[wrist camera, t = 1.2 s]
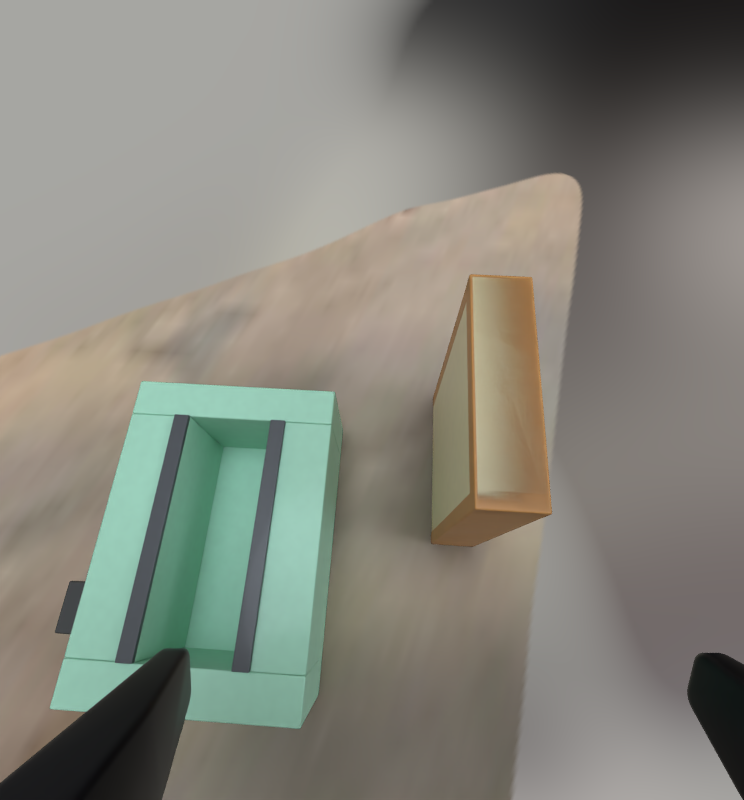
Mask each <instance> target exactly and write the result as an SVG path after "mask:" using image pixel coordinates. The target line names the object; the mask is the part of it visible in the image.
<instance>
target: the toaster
mask: <svg viewBox="0 0 744 800" xmlns="http://www.w3.org/2000/svg"><path fill="white" fill-rule="evenodd" d="M133 413H134V414H132V417H131V421H130V424H129V428H128V431H127V435H126V438H125V442H124V446H123V449H122V453H121V456H120V460H119V463H118V467H117V471H116V474H115V478H114V481H113V485H112V488H111V492H110V496H109V499H108V503H107V506H106V510H105V513H104V517H103V521H102V524H101V528H100V531H99V535H98V538H97V542H96V546H95V549H94V553H93V556H92V560H91V563H90V567H89V571H88V574H87V578H86V581H70V582H69V586H68V589H67V592H66V596H65V599H64V603H63V606H62V609H61V613H60V616H59V620H58V623H57V627H56V630H55V633H61V634H71V635H70V638H69V642H68V645H67V649H66V653H65V657H66V658H64V659H63V663H62V666H61V670H60V673H59V677H58V680H57V684H56V687H55V691H54V695H53V698H52V702H51V705H50V709H55V710H67V711H80V712H87V711H88V710H89V709H90V708H91V707H93V706H94V705H95V704H96V703H98V702H99V701H100V700H101V699H102V698H104V697H105V696H106V695H107V694H108V693H110V692H111V691H112V690H113V689H114V688H116V687H117V686H118V685H119V684H120V683H122V682H123V681H124V680H125V679H127V678H128V677H129V676H130V675H131V674H133V673H134V672H135V671H136V670H137V669H139V668H140V667H141V666H142V665H143V664H145V663H146V662H147V661H148V660H149V659H151V658H152V657H153V656H154V655H156V654H157V653H158V652H159V651H161V650H162V649H165V648H185V649H187V650H188V651H189V654H190V671H191V697H190V702H189V706H188V710H187V713H186V717H185V720H193V721H206V722H219V723H231V724H244V725H257V726H269V727H282V728H294V729H300V728H301V726H302V724H303V722H304V721H305V719H306V717H307V715H308V713H309V711H310V709H311V708H312V706H313V704H314V702H315V700H316V698H317V696H318V694H319V684H320V673H321V662H322V652H323V641H324V630H325V619H326V608H327V597H328V586H329V576H330V565H331V554H332V543H333V532H334V521H335V511H336V500H337V489H338V478H339V467H340V456H341V446H342V435H343V428H342V423H341V419H340V414H339V409H338V405H337V400H336V395H335V392H329V391H311V390H292V389H274V388H256V387H238V386H219V385H201V384H183V383H164V382H146V381H142V382H141V385H140V389H139V392H138V396H137V399H136V403H135V406H134V410H133Z"/></svg>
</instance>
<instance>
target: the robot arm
mask: <svg viewBox="0 0 744 800" xmlns="http://www.w3.org/2000/svg"><path fill="white" fill-rule="evenodd" d="M687 692H688V693H687V694H688V700H689V703H690V705H691V707H692V709H693V711H694V713H695V715H696V716H697V718H698V720H699V722H700V724H701V725H702V727H703V729H704V731H705V732H706V734H707V736H708V738H709V740H710V742H711V744H712V745H713V747H714V749H715V751H716V753H717V754H718V756H719V758H720V760H721V762H722V763H723V765H724V767H725V769H726V771H727V772H728V774H729V776H730V778H731V779H732V781H733V783H734V785H735V787H736V789H737V790H738V792H739V794H740V796H741V797H742V799H743V800H744V664H742V663H740V662H738V661H736V660H734V659H733V658H731V657H729V656H727V655H725V654H721V653H700V654H698V655H697V656H696V657H695V660H694V664H693V668H692V672H691V676H690V680H689V685H688V689H687ZM190 697H191V671H190V654H189V651H188V650H187V649H185V648H165V649H162V650H161V651H159V652H158V653H157V654H156V655H154V656H153V657H152V658H151V659H149V660H148V661H147V662H146V663H145V664H143V665H142V666H141V667H140V668H139V669H137V670H136V671H135V672H134V673H133V674H131V675H130V676H129V677H128V678H127V679H125V680H124V681H123V682H122V683H120V684H119V685H118V686H117V687H116V688H114V689H113V690H112V691H111V692H110V693H108V694H107V695H106V696H105V697H104V698H102V699H101V700H100V701H99V702H98V703H96V704H95V705H94V706H93V707H91V708H90V709H89V710H88V711H87V712H85V713H84V714H83V715H82V716H81V717H79V718H78V719H77V720H76V721H75V722H73V723H72V724H71V725H70V726H68V727H67V728H66V729H65V730H64V731H62V732H61V733H60V734H59V735H58V736H56V737H55V738H54V739H53V740H52V741H50V742H49V743H48V744H47V745H46V746H44V747H43V748H42V749H41V750H39V751H38V752H37V753H36V754H35V755H33V756H32V757H31V758H30V759H29V760H27V761H26V762H25V763H24V764H23V765H21V766H20V767H19V768H18V769H17V770H15V771H14V772H13V773H12V774H10V775H9V776H8V777H7V778H6V779H4V780H3V781H2V782H1V783H0V800H162V797H163V794H164V790H165V787H166V783H167V780H168V776H169V773H170V769H171V766H172V762H173V759H174V755H175V752H176V748H177V745H178V741H179V738H180V734H181V731H182V727H183V724H184V720H185V717H186V713H187V710H188V706H189V702H190Z"/></svg>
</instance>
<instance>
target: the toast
mask: <svg viewBox="0 0 744 800" xmlns="http://www.w3.org/2000/svg"><path fill="white" fill-rule="evenodd" d="M551 514H552V507H551V495H550V483H549V472H548V460H547V448H546V436H545V424H544V412H543V400H542V389H541V377H540V365H539V353H538V341H537V329H536V318H535V306H534V294H533V282H532V277H516V276H494V275H472V274H471V275H470V276H469V279H468V282H467V286H466V290H465V293H464V296H463V300H462V303H461V306H460V310H459V313H458V316H457V320H456V323H455V326H454V330H453V333H452V336H451V340H450V343H449V346H448V350H447V353H446V356H445V360H444V363H443V367H442V370H441V373H440V377H439V380H438V383H437V387H436V390H435V393H434V397H433V468H432V532H431V543H432V544H439V545H454V546H470V547H473V546H476V545H478V544H480V543H483V542H485V541H488V540H490V539H492V538H495V537H497V536H500V535H502V534H504V533H507V532H509V531H512V530H514V529H516V528H519V527H521V526H523V525H526V524H528V523H531V522H533V521H535V520H538V519H540V518H543V517H546V516H548V515H551Z"/></svg>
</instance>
